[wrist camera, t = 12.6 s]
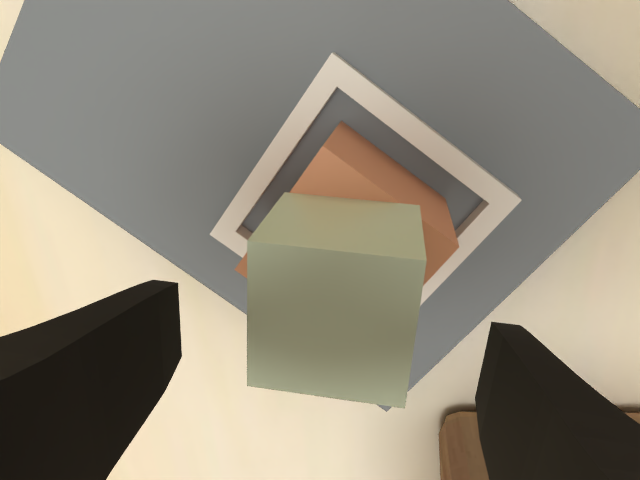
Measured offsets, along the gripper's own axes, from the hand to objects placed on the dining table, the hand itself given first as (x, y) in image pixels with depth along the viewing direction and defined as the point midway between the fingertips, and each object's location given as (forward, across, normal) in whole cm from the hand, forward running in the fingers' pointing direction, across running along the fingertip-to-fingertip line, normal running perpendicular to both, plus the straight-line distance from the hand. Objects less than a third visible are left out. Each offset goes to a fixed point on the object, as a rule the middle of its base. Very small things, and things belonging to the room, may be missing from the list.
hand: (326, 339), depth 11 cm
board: (+10, +3, -3) cm, 11 cm away
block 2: (+4, 0, 0) cm, 4 cm away
